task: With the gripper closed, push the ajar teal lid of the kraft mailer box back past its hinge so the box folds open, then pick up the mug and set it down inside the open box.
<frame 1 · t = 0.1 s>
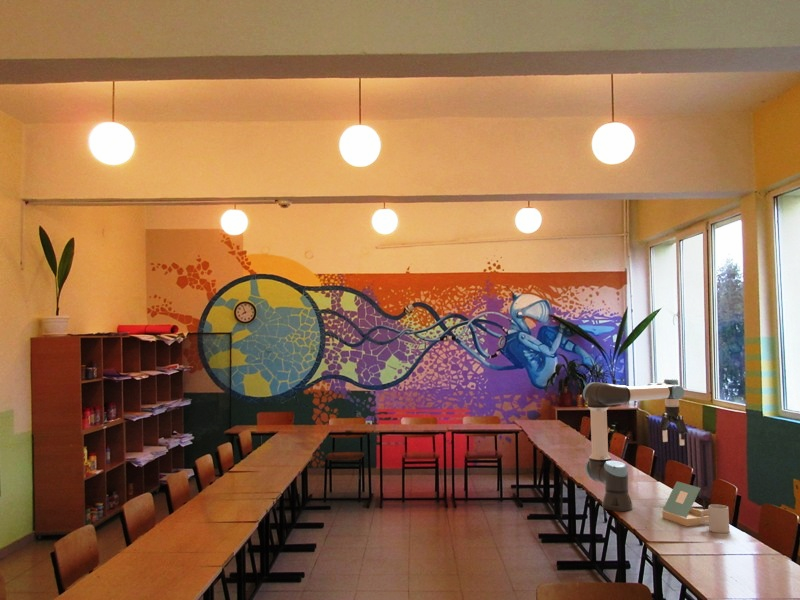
hand: (673, 443, 388), 28 cm above the table, fingers open, 13 cm apart
box: (688, 520, 333), on the table
mug: (715, 530, 315), on the table
lid: (681, 498, 332), point 11 cm above the table, hinge at 55.0°
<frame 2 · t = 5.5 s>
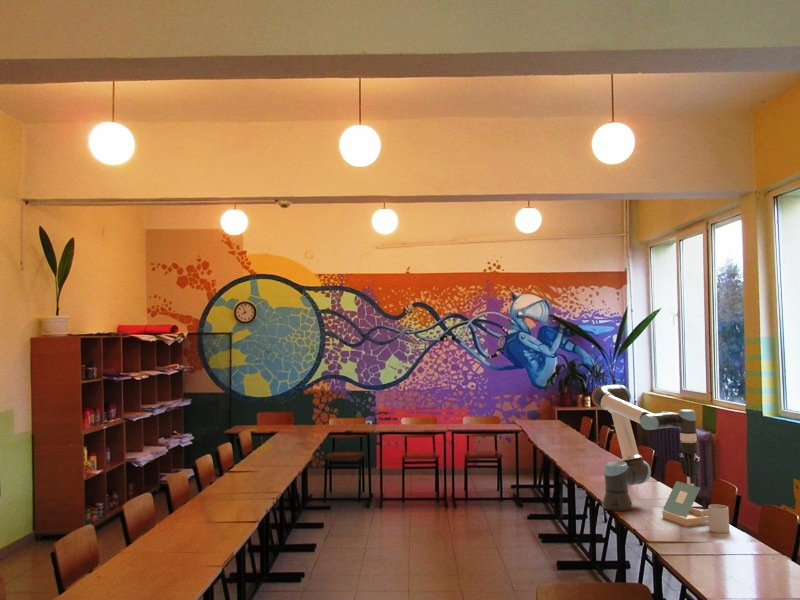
hand: (690, 489, 334), 14 cm above the table, fingers closed
lid: (681, 498, 332), point 11 cm above the table, hinge at 55.9°, touching gripper
everything else where it was.
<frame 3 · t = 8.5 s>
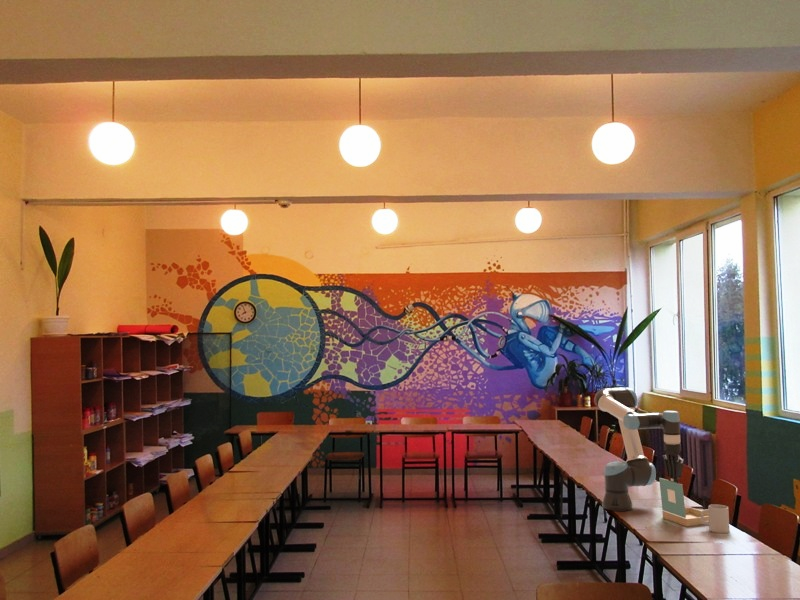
hand: (674, 491, 331), 14 cm above the table, fingers closed
lid: (672, 497, 330), point 12 cm above the table, hinge at 94.8°, touching gripper
everything else where it was.
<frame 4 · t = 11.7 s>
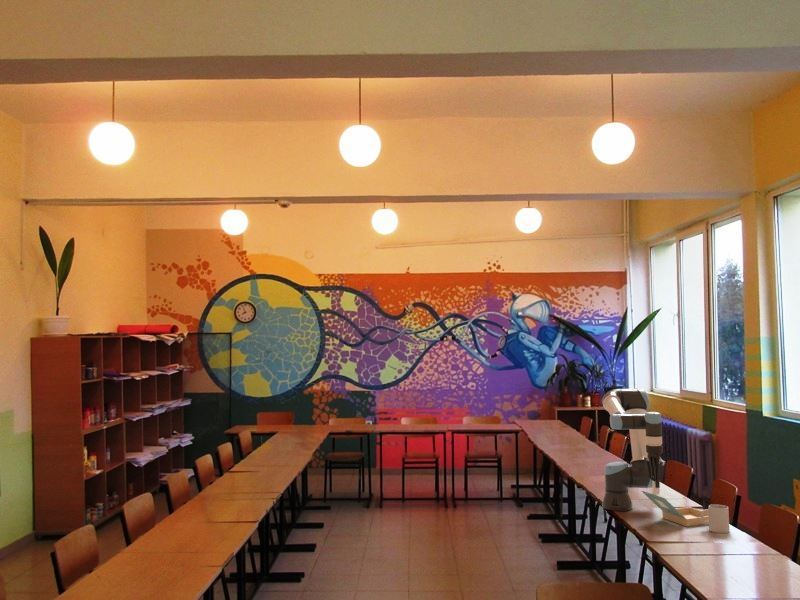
hand: (656, 494, 327), 14 cm above the table, fingers closed
lid: (663, 504, 328), point 9 cm above the table, hinge at 138.3°, touching gripper
everything else where it was.
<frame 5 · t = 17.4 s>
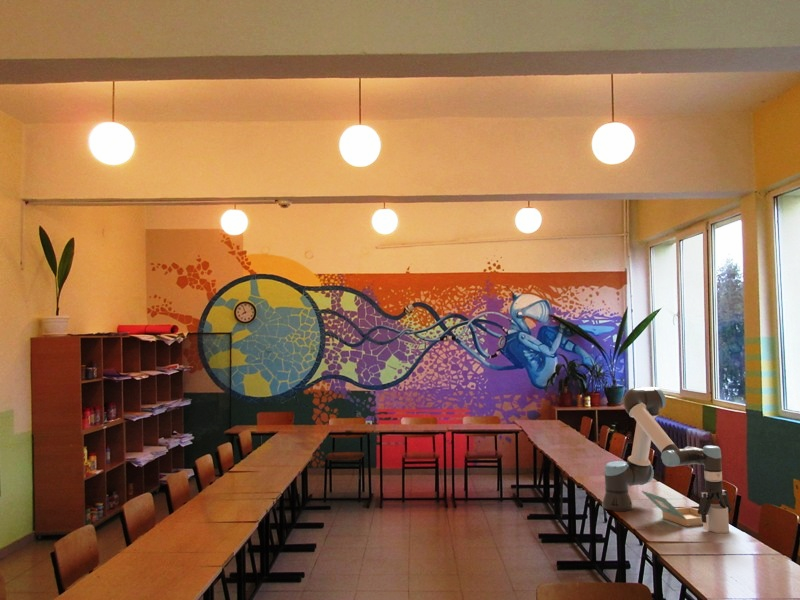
hand: (715, 528, 315), 1 cm above the table, fingers closed on mug, 10 cm apart
mug: (714, 530, 315), on the table, touching gripper
lid: (663, 504, 328), point 9 cm above the table, hinge at 138.3°
when the fingers open (4 cm above the table, at t = 24.4 s): mug drops 2 cm, resting on box.
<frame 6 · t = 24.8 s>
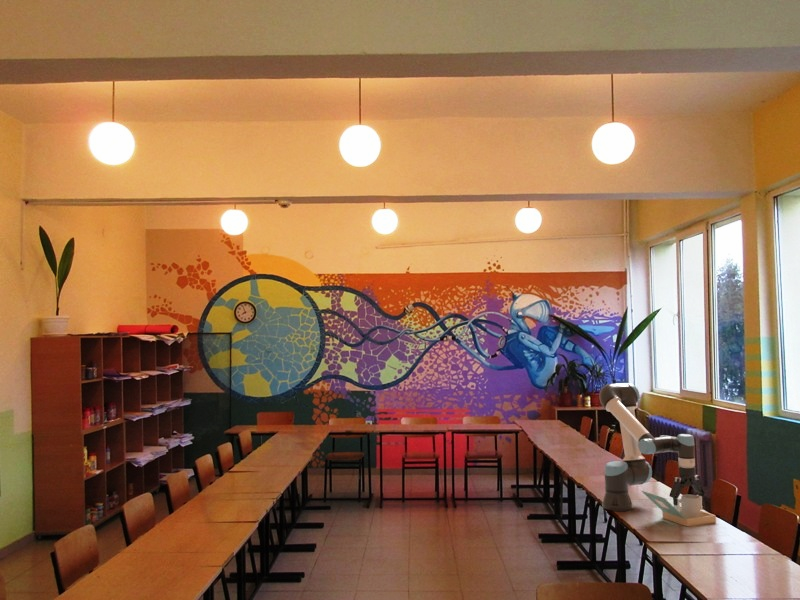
hand: (688, 510, 333), 5 cm above the table, fingers open, 13 cm apart
mug: (687, 519, 333), resting on box
everything else where it was.
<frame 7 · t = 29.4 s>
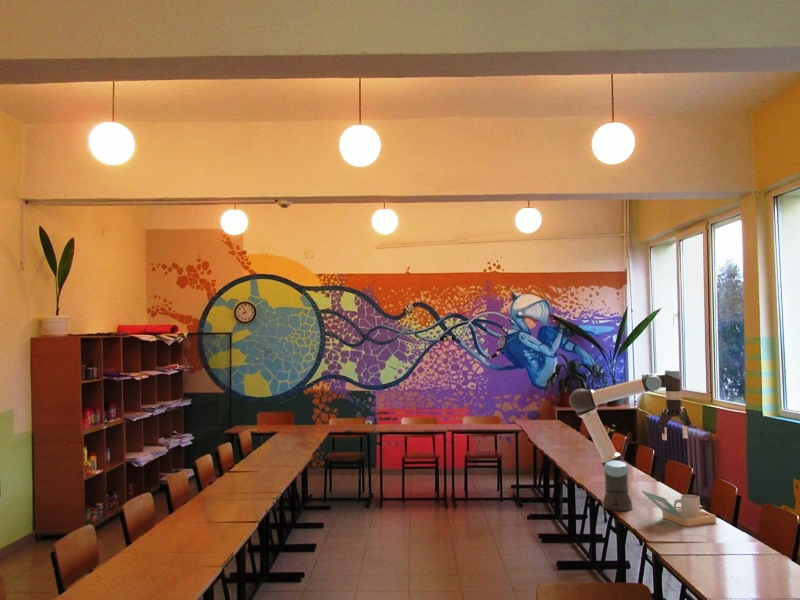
hand: (675, 439, 363), 35 cm above the table, fingers open, 13 cm apart
nothing on the table moved.
at the end: lid at +138° (first picture: +55°); mug inside the target area on the box (0.7 cm from its centre), point 0.3 cm above the box's base; mug tilted 0° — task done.
